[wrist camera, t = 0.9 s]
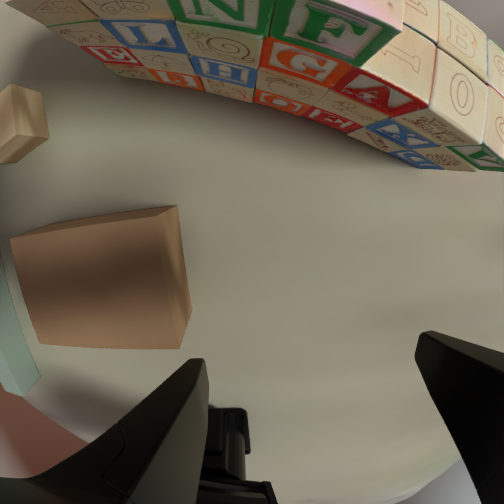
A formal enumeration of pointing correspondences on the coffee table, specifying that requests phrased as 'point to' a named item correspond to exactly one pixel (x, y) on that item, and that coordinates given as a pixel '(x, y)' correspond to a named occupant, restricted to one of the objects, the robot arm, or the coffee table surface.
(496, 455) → the robot arm
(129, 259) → the walnut brick
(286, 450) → the coffee table surface
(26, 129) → the oak cube
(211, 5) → the stack of blocks
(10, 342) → the board
